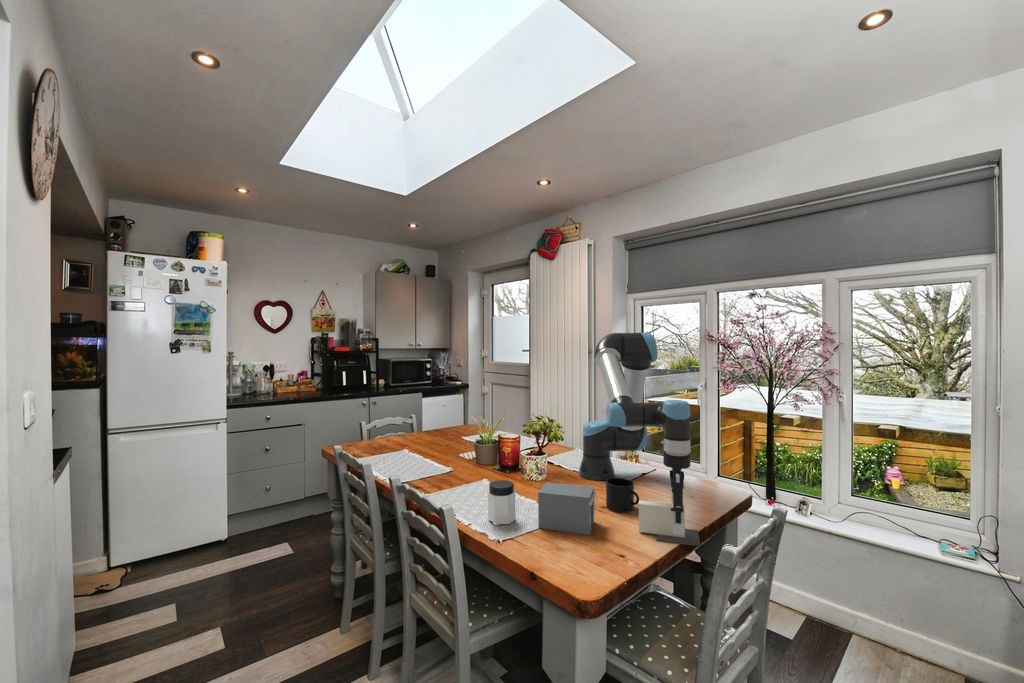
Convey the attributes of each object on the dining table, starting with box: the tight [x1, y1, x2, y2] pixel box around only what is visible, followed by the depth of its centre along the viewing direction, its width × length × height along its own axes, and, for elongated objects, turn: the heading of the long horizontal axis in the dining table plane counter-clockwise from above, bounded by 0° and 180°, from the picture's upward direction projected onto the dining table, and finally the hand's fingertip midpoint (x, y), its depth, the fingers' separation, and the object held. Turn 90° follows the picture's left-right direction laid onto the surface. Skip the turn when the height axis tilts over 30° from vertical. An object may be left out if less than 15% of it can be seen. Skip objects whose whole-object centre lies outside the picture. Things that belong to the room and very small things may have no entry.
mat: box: [655, 528, 702, 548], centre depth 130 cm, size 10×12×1 cm
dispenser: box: [537, 482, 597, 536], centre depth 138 cm, size 10×17×11 cm, turn 71°
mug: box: [605, 477, 640, 513], centre depth 151 cm, size 9×12×9 cm
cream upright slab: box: [638, 499, 686, 538], centre depth 131 cm, size 3×13×8 cm, turn 71°
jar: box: [487, 479, 516, 525], centre depth 142 cm, size 9×8×12 cm
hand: (677, 524), depth 130 cm, fingers open, 13 cm apart
